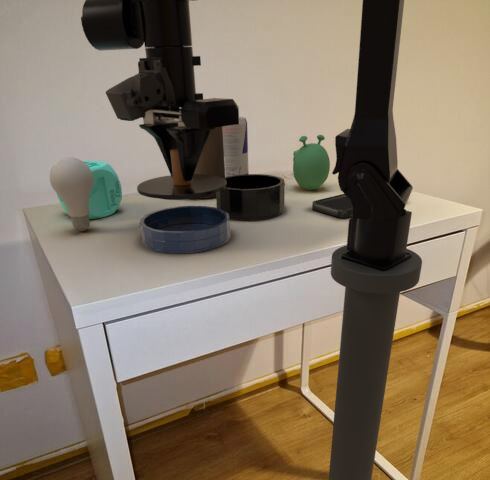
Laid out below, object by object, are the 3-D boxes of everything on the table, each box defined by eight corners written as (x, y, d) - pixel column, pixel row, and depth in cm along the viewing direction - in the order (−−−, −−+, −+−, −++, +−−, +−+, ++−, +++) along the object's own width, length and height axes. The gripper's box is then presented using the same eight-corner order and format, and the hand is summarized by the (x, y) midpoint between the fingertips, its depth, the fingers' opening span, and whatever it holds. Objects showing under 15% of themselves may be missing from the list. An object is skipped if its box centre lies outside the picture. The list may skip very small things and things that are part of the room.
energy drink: (251, 176, 103) (250, 117, 97) (243, 181, 98) (242, 120, 92) (229, 175, 104) (226, 116, 98) (220, 180, 100) (217, 119, 94)
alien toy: (311, 182, 96) (313, 130, 91) (335, 190, 90) (339, 134, 85) (283, 187, 93) (283, 134, 88) (307, 195, 87) (309, 138, 82)
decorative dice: (85, 222, 77) (74, 172, 73) (60, 214, 81) (49, 166, 77) (125, 211, 82) (118, 164, 78) (100, 204, 86) (92, 158, 82)
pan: (248, 236, 68) (247, 216, 67) (177, 261, 61) (175, 239, 59) (194, 219, 76) (192, 201, 75) (126, 239, 69) (122, 219, 67)
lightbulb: (64, 239, 69) (46, 163, 64) (60, 228, 74) (43, 156, 69) (105, 233, 71) (91, 158, 66) (99, 222, 76) (86, 152, 71)
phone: (309, 202, 79) (370, 187, 86) (309, 208, 79) (369, 193, 87) (343, 212, 73) (405, 195, 81) (342, 219, 74) (404, 202, 81)
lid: (245, 190, 65) (244, 147, 62) (173, 209, 58) (167, 162, 55) (191, 177, 73) (187, 139, 70) (121, 193, 65) (114, 151, 63)
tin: (297, 209, 79) (298, 180, 77) (249, 225, 73) (249, 193, 70) (251, 198, 87) (250, 171, 84) (203, 211, 80) (201, 182, 78)
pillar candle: (235, 193, 90) (232, 108, 82) (191, 202, 85) (183, 113, 78) (210, 184, 97) (204, 105, 89) (167, 192, 92) (158, 109, 85)
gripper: (71, 51, 58) (95, 180, 66) (157, 44, 46) (174, 203, 54) (147, 49, 64) (161, 167, 72) (239, 43, 52) (244, 185, 60)
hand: (181, 179), depth 64 cm, fingers closed on lid, 2 cm apart
